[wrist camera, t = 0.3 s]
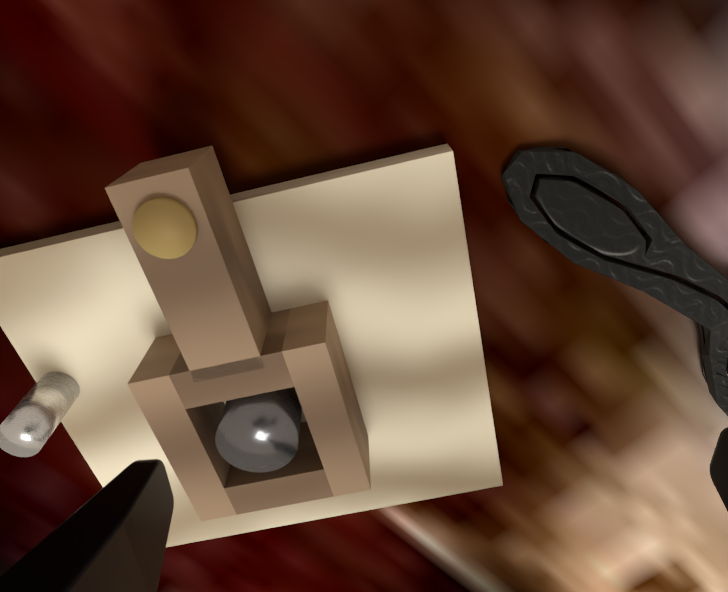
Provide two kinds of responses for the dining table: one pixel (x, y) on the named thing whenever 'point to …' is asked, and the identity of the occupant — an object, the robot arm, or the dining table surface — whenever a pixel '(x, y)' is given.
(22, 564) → the robot arm
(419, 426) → the birch board
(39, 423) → the dowel pin
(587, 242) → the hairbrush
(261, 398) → the grey round canister
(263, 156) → the dining table surface
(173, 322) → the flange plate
